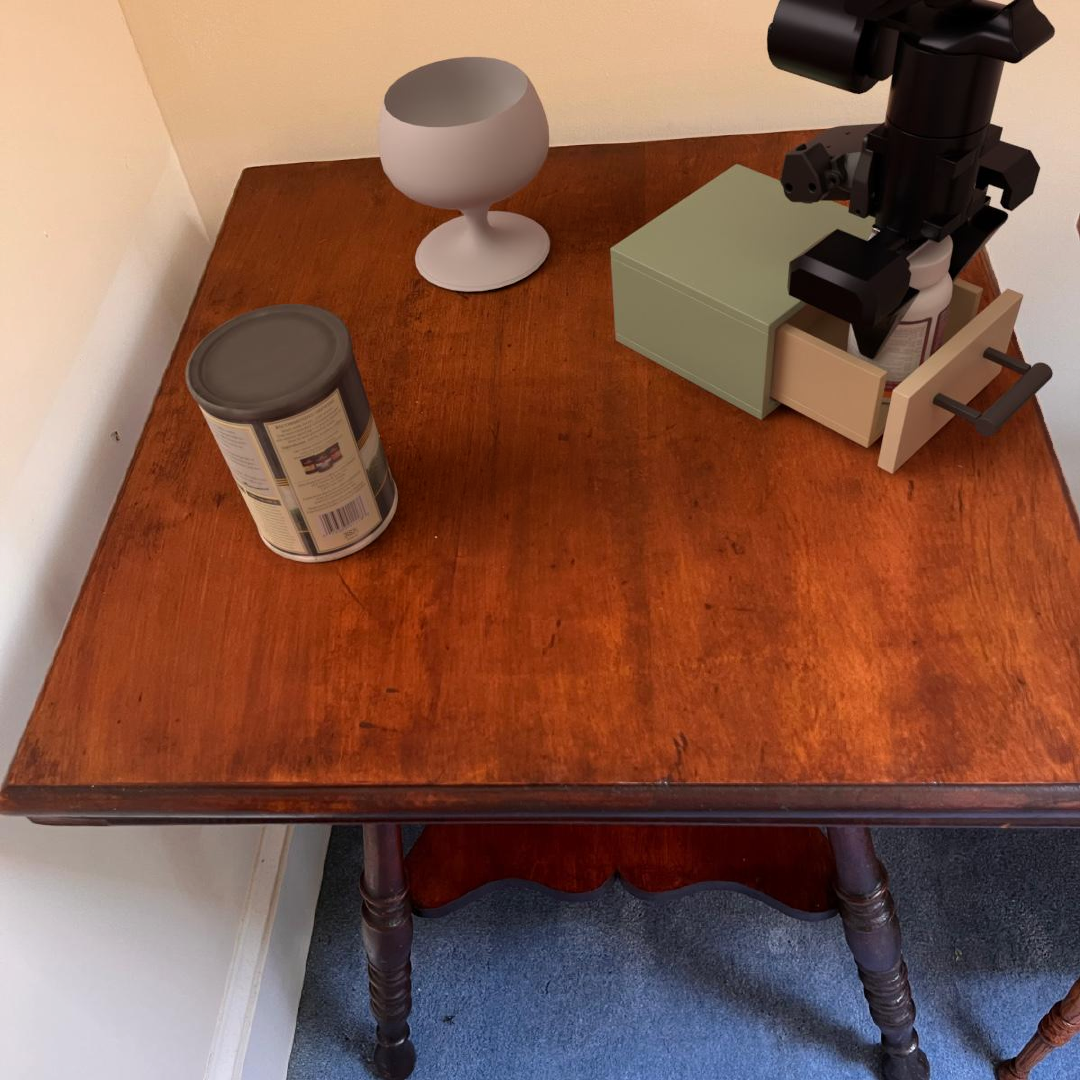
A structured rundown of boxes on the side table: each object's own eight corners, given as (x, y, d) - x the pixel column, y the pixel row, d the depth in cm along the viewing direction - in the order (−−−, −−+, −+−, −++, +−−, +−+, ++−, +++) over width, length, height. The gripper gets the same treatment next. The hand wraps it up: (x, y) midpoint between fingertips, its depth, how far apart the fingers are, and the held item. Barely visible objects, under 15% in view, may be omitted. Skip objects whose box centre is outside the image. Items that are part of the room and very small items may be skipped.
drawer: (1059, 399, 72) (1089, 320, 67) (952, 506, 67) (975, 430, 62) (842, 301, 82) (853, 226, 76) (733, 389, 76) (737, 314, 71)
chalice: (591, 234, 93) (578, 68, 82) (497, 320, 86) (470, 152, 75) (470, 196, 99) (443, 37, 88) (374, 273, 92) (331, 112, 81)
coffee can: (319, 441, 79) (262, 286, 68) (426, 485, 74) (384, 328, 64) (226, 531, 73) (149, 379, 63) (335, 585, 69) (273, 431, 58)
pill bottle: (896, 337, 76) (918, 202, 68) (952, 384, 72) (984, 247, 64) (825, 369, 75) (839, 235, 66) (879, 419, 71) (901, 283, 63)
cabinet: (879, 322, 81) (896, 225, 74) (761, 420, 75) (769, 325, 69) (732, 255, 89) (736, 163, 82) (615, 340, 83) (609, 248, 76)
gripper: (908, 18, 67) (874, 230, 79) (721, 140, 59) (714, 353, 71) (1074, 63, 61) (1010, 284, 73) (889, 204, 54) (851, 424, 65)
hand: (895, 332), depth 71 cm, fingers closed on pill bottle, 6 cm apart
